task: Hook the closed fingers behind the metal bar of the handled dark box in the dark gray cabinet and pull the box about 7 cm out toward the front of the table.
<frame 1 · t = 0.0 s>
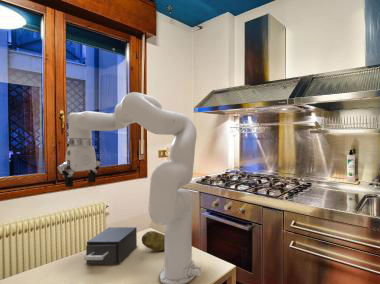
hand: (81, 184, 94), 31 cm above the table, tool pointing down, fingers open, 9 cm apart
potato: (157, 249, 102), on the table
dark gray cabinet: (113, 255, 97), on the table
handled dark box: (107, 249, 93), point 5 cm above the table, slide at 0.0 cm
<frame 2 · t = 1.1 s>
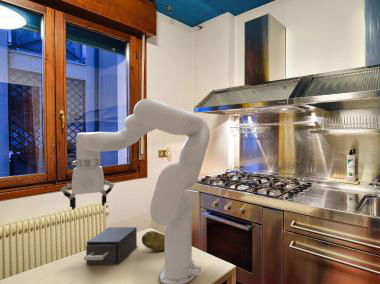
hand: (88, 206, 90), 23 cm above the table, tool pointing down, fingers open, 9 cm apart
nothing on the table moved.
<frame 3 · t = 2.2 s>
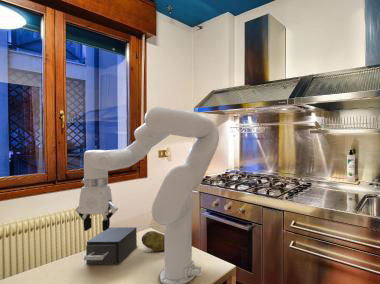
hand: (96, 229, 86), 16 cm above the table, tool pointing down, fingers open, 6 cm apart
nothing on the table moved.
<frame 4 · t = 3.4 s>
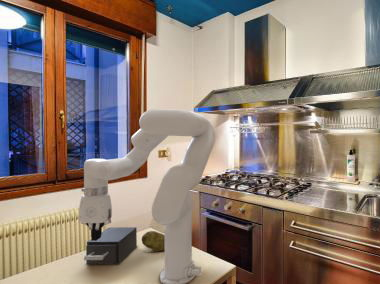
hand: (96, 239, 87), 12 cm above the table, tool pointing down, fingers closed
nothing on the table moved.
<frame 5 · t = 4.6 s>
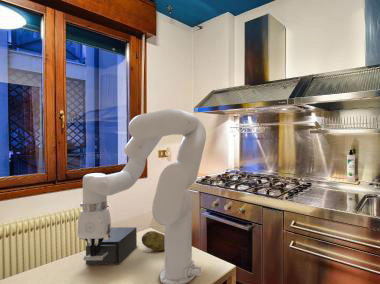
hand: (95, 254, 86), 6 cm above the table, tool pointing down, fingers closed
handled dark box: (107, 249, 93), point 5 cm above the table, slide at 0.2 cm, touching gripper
everything else where it was.
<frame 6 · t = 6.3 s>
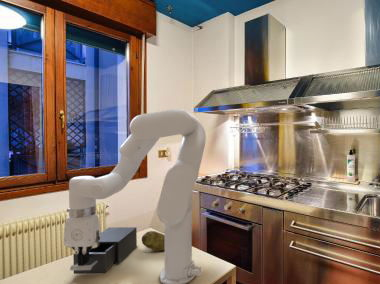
hand: (83, 263, 80), 6 cm above the table, tool pointing down, fingers closed
handled dark box: (97, 257, 87), point 5 cm above the table, slide at 6.5 cm, touching gripper
everything else where it was.
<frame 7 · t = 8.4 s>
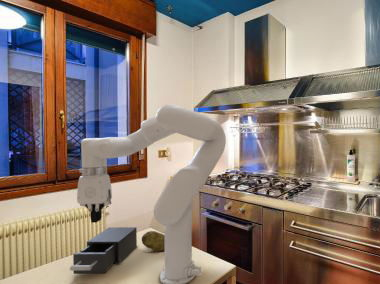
hand: (96, 221, 84), 20 cm above the table, tool pointing down, fingers closed
handled dark box: (97, 257, 87), point 5 cm above the table, slide at 6.6 cm
everything else where it was.
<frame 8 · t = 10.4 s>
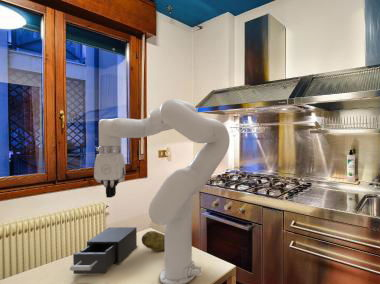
hand: (110, 196, 90), 27 cm above the table, tool pointing down, fingers closed
nothing on the table moved.
at the end: handled dark box slide at 6.6 cm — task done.
